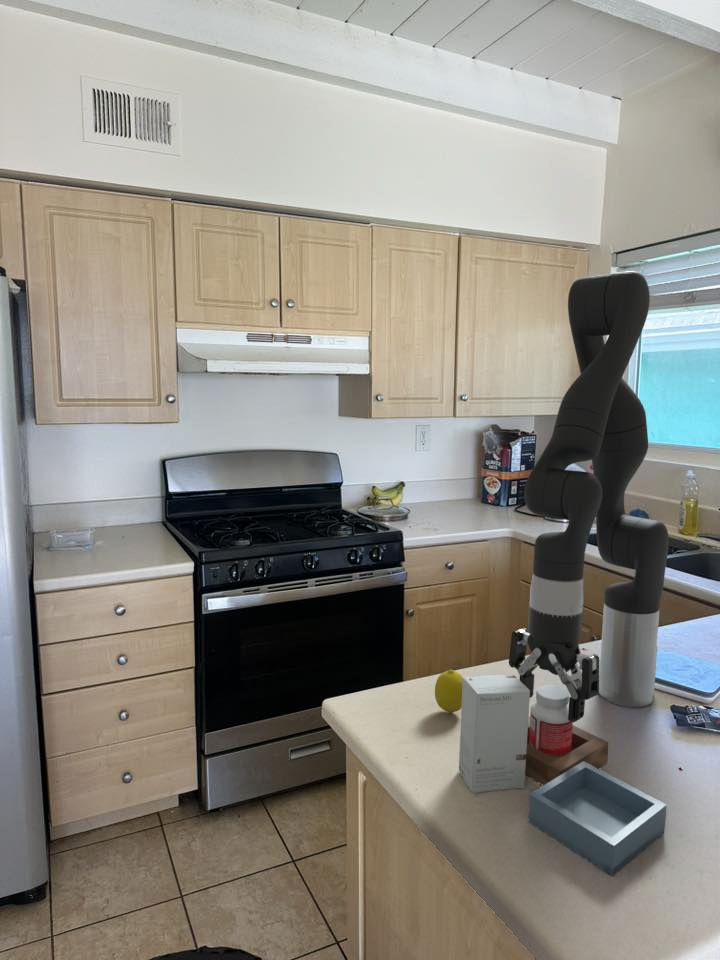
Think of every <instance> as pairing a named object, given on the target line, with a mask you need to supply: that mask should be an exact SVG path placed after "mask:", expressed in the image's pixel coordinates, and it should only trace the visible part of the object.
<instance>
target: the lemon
mask: <svg viewBox="0 0 720 960" xmlns="http://www.w3.org/2000/svg"><path fill="white" fill-rule="evenodd" d="M462 678H464V677H463V676H462V675H461V674H460V673H459V672H458V671H455V670H453V669H449V670H446V671H443V672H442V673H441V674H440V675H439V676H438V677H437V678H436V682H435V686H434V698H435V701H436V703H437V705H438V707H439V708H440V709H442V710H443V711H445V712H447V713H448V714H450V715H451V714H454V713H456V712H458V711H461V706H462Z"/></svg>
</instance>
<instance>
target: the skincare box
mask: <svg viewBox="0 0 720 960" xmlns="http://www.w3.org/2000/svg"><path fill="white" fill-rule="evenodd" d="M530 701H531V698H530V690H529V689H528V688H527V687H526V686H525V685H524V684H523V683H522V682H521V681H520V678H518V677H517V676H515V675H514V674H498V675H496V674H495V675H494V674H487V675H486V674H485V675H481V676H466V677H463V678H462V706H461V709H460V711H461V712H460V733H459V735H460V736H459V758H458V771H459V773H460V775H461V776H462V779H463V780H464V782H465V784H466V786H467V788H468V789H469V790H470V791H469V792H470V793H471V794H478V793H485V792H492V791H493V792H494V791H499V790H508V789H509V790H510V789H522V788H524V787H525V784H526V783H525V782H526V781H525V779H526V775H525V766H526V749H527V733H528V718H529V717H530Z"/></svg>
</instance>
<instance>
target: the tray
mask: <svg viewBox="0 0 720 960" xmlns="http://www.w3.org/2000/svg"><path fill="white" fill-rule="evenodd" d="M667 808H668V807H667V804H666V803H664V802H662V801H661V800H659V799H656V798H655V797H653V796H651V795H649V794H647V793H645V792H643V791H642V790H639V789H637V788H635V787H634V786H631V785H629V784H628V783H626V782H624V781H622V780H620V779H619V778H616V777H614V776H612V775H611V774H608V773H607V772H605V771H603V770H601V769H597V768H595V767H594V766H592V765H590V764H588V763H586V762H584V761H583V762H581V763H580V764H578V765H576V766H575V767H573V768H572V769H570V770H568V771H567V772H565V773H563V774H562V775H560V776H558V777H557V778H555V779H553V780H552V781H550V782H549V783H547V784H545V785H542V786H540V787H539V788H537V789H535V790H533V791H531V792H530V793H529V801H528V823H529V824H531V825H532V826H533V827H536V828H537V829H538V830H540V831H542V832H543V833H545V834H546V835H548V836H549V837H551V838H552V839H554V840H555V841H557V842H559V843H560V844H561V845H563V846H565V847H566V848H568V850H570V851H572V852H573V853H575V854H577V855H578V856H579V857H581V858H582V859H585V860H586V861H587V862H589V863H590V864H591V865H593V866H595V867H596V868H598V869H600V870H601V871H603V872H604V873H605V874H607V875H609V876H610V877H613V876H615V875H616V874H617V873H618V872H620V871H621V870H622V869H623V868H624V867H626V866H627V865H628V864H629V863H631V862H632V861H633V860H634V859H635V858H636V857H637V856H639V855H640V854H641V853H643V852H644V851H645V850H646V849H648V848H649V847H650V846H651V845H652V844H654V843H655V842H656V841H657V840H659V838H661V837H662V836H663V835H664V834H665V829H666V819H667V816H666V815H667Z"/></svg>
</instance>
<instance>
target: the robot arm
mask: <svg viewBox="0 0 720 960" xmlns="http://www.w3.org/2000/svg"><path fill="white" fill-rule="evenodd" d="M650 294H651V293H650V288H649V284H648V282H647V280H646V278H645V276H644V274H642V273H641V272H639V271H636V270H629V271H619V272H611V273H606V274H599V275H593V276H586V277H581V278H578V279H576V280H575V281H574V282H573V283H572V285H571V286H570V288H569V292H568V297H567V311H568V312H567V313H568V320H569V321H568V322H569V326H570V332H571V336H572V340H573V345H574V349H575V355H576V359H577V364H578V368H579V373H580V374H579V376H578V377H577V378H576V379H575V380H574V381H573V382H572V384H571V385H570V387H569V388H568V389H567V391H566V392H565V394H564V396H563V397H562V400H561V402H560V405H559V408H558V411H557V417H556V420H555V423H554V427H553V430H552V434H551V437H550V440H549V441H548V443H547V445H546V447H544V449H543V452H542V454H541V455H540V457H539V458H538V460H537V461H536V463H535V465H534V466H533V468H532V469H531V472H530V473H529V475H528V477H527V480H526V482H525V486H524V495H523V496H524V497H523V498H524V502H525V505H526V507H527V509H528V510H529V511H530V512H531V513H532V514H534V515H536V516H539V517H546V518H553V519H561V520H568V524H567V527H566V529H565V530H564V531H555V532H551V531H550V532H546V533H545V532H544V533H541V534H540V535H538V536H537V537H536V539H535V541H534V549H533V564H532V565H533V567H532V578H531V582H530V588H529V591H530V592H529V610H528V623H527V624H528V627H527V628H525V627H522V628H519V629H517V630H513V631H512V632H511V635H510V636H511V637H510V645H509V646H510V647H509V648H510V649H509V656H508V666H510V668H512V669H513V668H514V669H516V671H517V674H518V675H519V680H520V681H521V682H522V683H523V684H524V685H525V686H526V687H527V688H528V689H529V690H530V699H531V698H533V696H534V686H535V673H533V672H534V671H535V670H536V669H537V668H538V667H539V669H540V670H543V671H548V672H550V673H551V674H553V675H555V676H558V677H559V680H560V681H561V683H562V684H563V685H565V687H566V689H567V691H568V693H569V702H568V705H569V711H568V720H569V721H571V722H573V723H575V722H578V721H579V720H581V719H582V718H583V717H584V716H585V707H586V706H585V705H586V701H588V700H590V699H592V698H594V697H596V696H598V695H600V696H601V697H602V698H604V700H607V701H608V702H610V703H613V704H615V705H619V706H622V707H629V708H630V707H631V708H641V707H642V708H643V707H646V706H649V705H651V704H652V702H653V699H654V694H655V686H656V685H655V683H656V682H655V681H656V669H657V659H658V658H657V656H658V634H659V633H658V632H659V622H660V621H659V620H660V619H659V618H660V607H661V606H660V605H661V598H662V594H663V591H664V586H665V585H664V583H665V577H666V576H665V575H666V574H665V573H666V567H667V560H668V554H669V540H670V537H669V532H668V528H667V525H665V524H664V522H662V521H660V520H655V519H649V518H644V517H637V516H634V515H627V513H626V511H625V509H626V508H625V494H626V493H625V492H626V491H627V490H626V489H627V488H628V486H629V484H630V482H631V481H632V479H633V478H634V476H635V474H636V473H637V471H638V470H639V468H640V467H641V465H642V463H643V461H644V460H645V458H646V455H647V453H648V450H649V435H648V423H647V414H646V410H645V407H644V405H643V403H642V401H641V399H640V398H639V397H638V395H637V394H636V392H635V391H634V390H633V389H632V388H631V387H630V385H629V384H628V383H627V381H626V380H625V379H624V378H623V376H624V374H625V372H626V370H627V368H628V365H629V363H630V361H631V358H632V357H633V353H634V351H635V349H636V346H637V344H638V342H639V339H640V337H641V335H642V332H643V329H644V327H645V325H646V320H647V317H648V313H649V309H650V300H651V299H650ZM604 336H608V337H607V340H606V341H605V340H604V339H605V338H604ZM588 461H591V465H592V470H593V471H592V472H588V471H581V470H580V471H579V470H571V469H567V468H568V467H569V466H570V465H573V464H575V463H577V464H578V463H583V462H588ZM595 520H596V521H595ZM594 522H596V523H595V525H596V526H595V527H596V542H597V544H596V545H597V549H598V554H599V556H600V558H601V559H602V560H603V561H604V562H605V563H607V564H610V565H611V566H612V565H613V566H616V567H621V568H625V569H629V570H633V571H635V573H634V578H633V580H631V581H623V582H622V581H621V582H615V583H612V584H610V585H608V586H607V587H606V588H605V589H604V595H603V612H602V613H603V614H602V629H601V630H602V631H601V642H600V643H601V644H600V645H601V647H600V657H599V655H598V654H594V653H593V654H592V655H589V654H585V653H581V649H580V646H579V644H580V641H581V637H582V627H583V614H584V613H583V612H584V611H583V609H584V597H585V595H584V594H585V591H584V570H585V569H584V567H585V566H584V565H585V555H586V548H587V544H588V540H589V537H590V533H591V531H592V527H593V525H594ZM527 645H528V648H529V649H530V652H531V653H530V654H529V655H528V656H527V657H526V653H527ZM578 663H579V666H578ZM568 672H571V675H569V674H568Z"/></svg>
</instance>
